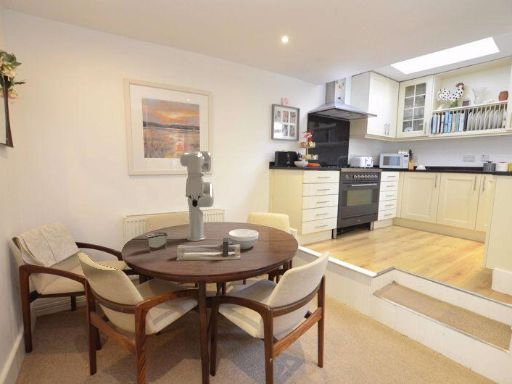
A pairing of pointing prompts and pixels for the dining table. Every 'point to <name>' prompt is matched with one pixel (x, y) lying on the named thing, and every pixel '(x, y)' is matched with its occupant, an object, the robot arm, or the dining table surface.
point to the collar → (225, 246)
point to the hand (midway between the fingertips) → (194, 206)
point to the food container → (157, 241)
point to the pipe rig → (207, 255)
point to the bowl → (243, 237)
